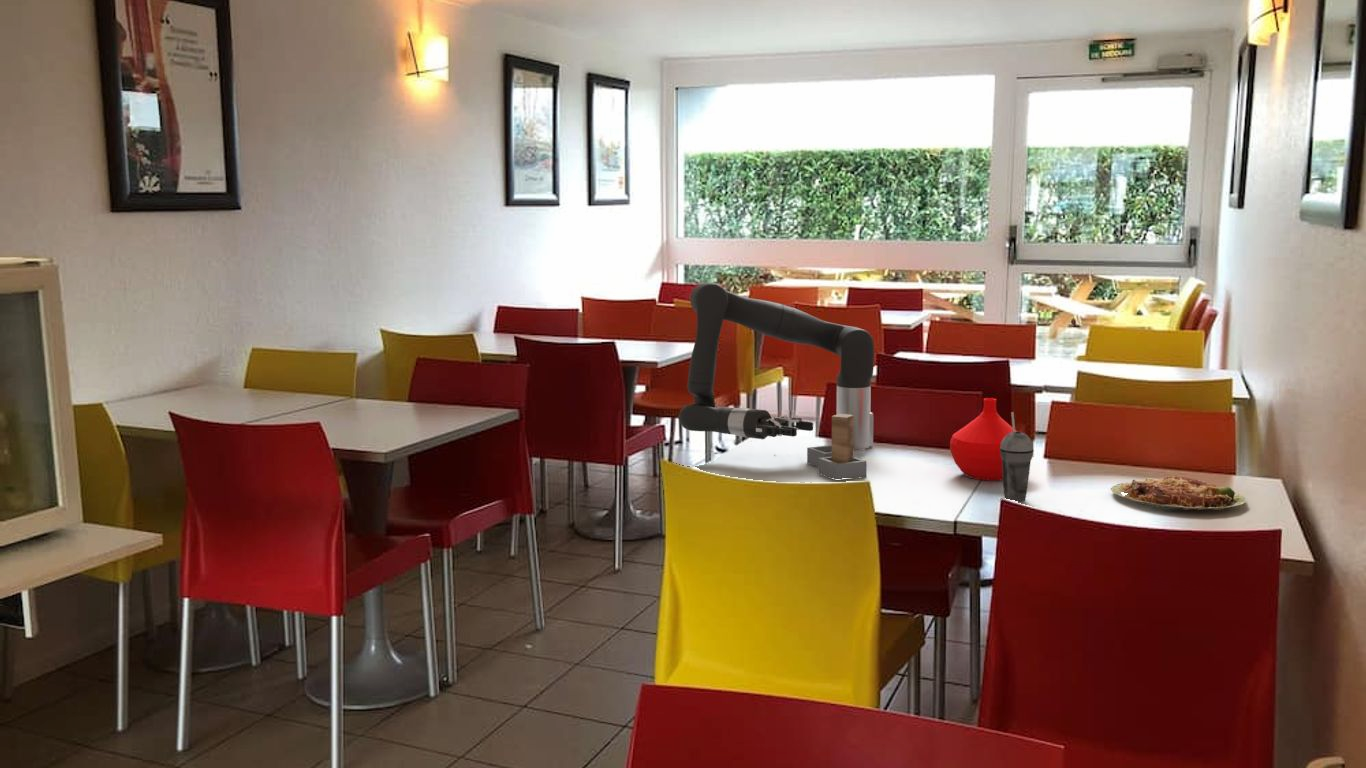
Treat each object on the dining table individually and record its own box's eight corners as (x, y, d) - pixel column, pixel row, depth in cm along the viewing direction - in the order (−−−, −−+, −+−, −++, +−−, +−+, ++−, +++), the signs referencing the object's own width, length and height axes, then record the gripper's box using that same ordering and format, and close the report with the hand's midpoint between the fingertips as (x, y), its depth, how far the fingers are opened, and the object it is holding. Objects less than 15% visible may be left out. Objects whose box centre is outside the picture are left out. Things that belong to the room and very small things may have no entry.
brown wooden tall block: (838, 468, 275) (839, 413, 273) (853, 470, 273) (853, 415, 271) (831, 472, 272) (831, 416, 270) (846, 473, 270) (846, 417, 268)
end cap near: (847, 470, 278) (847, 454, 278) (866, 477, 270) (866, 461, 270) (818, 473, 275) (818, 458, 274) (837, 480, 267) (837, 464, 266)
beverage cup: (1036, 504, 243) (1039, 415, 240) (1002, 504, 244) (1005, 415, 241) (1026, 496, 251) (1029, 409, 248) (994, 496, 251) (996, 409, 248)
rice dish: (1132, 484, 266) (1132, 462, 265) (1259, 496, 248) (1260, 473, 248) (1093, 509, 244) (1093, 485, 243) (1228, 524, 227) (1229, 498, 226)
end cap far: (834, 459, 291) (835, 444, 290) (852, 465, 283) (853, 450, 282) (807, 462, 287) (807, 447, 286) (824, 469, 279) (824, 453, 279)
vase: (1030, 486, 259) (1033, 406, 257) (950, 483, 263) (952, 404, 260) (1022, 469, 277) (1025, 393, 274) (948, 466, 281) (949, 392, 278)
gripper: (734, 413, 280) (790, 419, 271) (763, 404, 291) (818, 410, 282) (734, 441, 281) (790, 449, 272) (763, 432, 293) (817, 439, 283)
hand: (804, 429), depth 277 cm, fingers open, 8 cm apart
